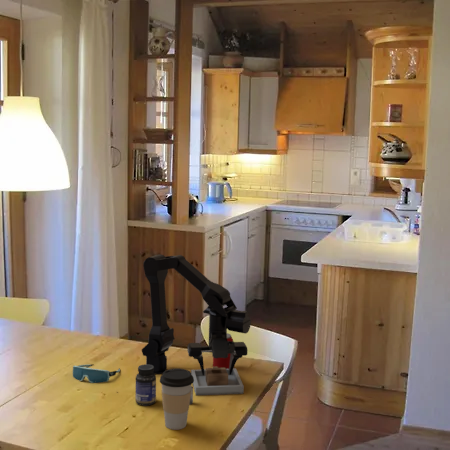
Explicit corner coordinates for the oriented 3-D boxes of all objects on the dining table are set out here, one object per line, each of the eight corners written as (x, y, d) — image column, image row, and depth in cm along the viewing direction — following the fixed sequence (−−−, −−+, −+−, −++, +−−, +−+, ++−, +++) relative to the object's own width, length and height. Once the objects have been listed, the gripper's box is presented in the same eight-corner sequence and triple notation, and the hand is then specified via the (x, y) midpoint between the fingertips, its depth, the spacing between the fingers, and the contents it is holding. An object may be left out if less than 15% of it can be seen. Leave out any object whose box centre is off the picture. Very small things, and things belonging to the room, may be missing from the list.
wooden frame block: (208, 387, 205) (208, 375, 204) (205, 378, 212) (205, 366, 211) (227, 386, 206) (228, 374, 205) (224, 377, 213) (224, 366, 212)
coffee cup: (159, 417, 184) (160, 367, 182) (192, 417, 185) (193, 367, 183) (158, 433, 175) (159, 380, 172) (193, 432, 175) (194, 380, 173)
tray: (195, 395, 200) (195, 387, 200) (191, 376, 215) (191, 369, 214) (243, 393, 202) (243, 386, 202) (235, 375, 217) (235, 368, 216)
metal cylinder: (186, 404, 193) (186, 388, 192) (185, 401, 195) (186, 386, 194) (193, 404, 193) (193, 388, 193) (192, 401, 195) (192, 385, 195)
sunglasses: (65, 380, 209) (66, 365, 209) (87, 370, 224) (88, 356, 224) (104, 386, 205) (105, 370, 205) (124, 375, 220) (125, 361, 220)
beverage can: (233, 365, 226) (234, 332, 224) (231, 373, 219) (232, 339, 217) (213, 364, 226) (214, 331, 224) (211, 371, 220) (212, 337, 218)
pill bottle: (156, 405, 192) (156, 370, 190) (135, 406, 191) (135, 371, 189) (155, 397, 198) (155, 362, 196) (135, 398, 197) (135, 363, 195)
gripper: (191, 336, 196) (190, 385, 199) (251, 335, 199) (249, 383, 201) (187, 325, 207) (186, 372, 209) (245, 324, 210) (243, 370, 212)
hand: (216, 374), depth 208 cm, fingers open, 8 cm apart
